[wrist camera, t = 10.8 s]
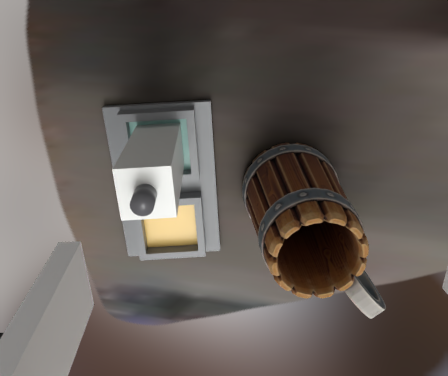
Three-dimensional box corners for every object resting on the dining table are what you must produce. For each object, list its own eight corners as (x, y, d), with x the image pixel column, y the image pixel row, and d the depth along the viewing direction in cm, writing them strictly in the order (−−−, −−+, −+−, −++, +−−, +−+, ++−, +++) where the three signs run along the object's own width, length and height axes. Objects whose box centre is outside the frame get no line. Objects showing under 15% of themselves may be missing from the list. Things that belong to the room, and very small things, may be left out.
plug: (136, 125, 42) (106, 179, 30) (180, 122, 42) (168, 176, 30) (143, 172, 44) (118, 241, 32) (184, 169, 45) (176, 238, 32)
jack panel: (103, 105, 42) (98, 111, 40) (210, 99, 42) (210, 105, 40) (129, 252, 50) (126, 264, 48) (219, 246, 50) (220, 258, 48)
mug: (221, 183, 46) (227, 259, 33) (293, 120, 44) (333, 175, 30) (306, 264, 52) (342, 359, 38) (376, 212, 49) (441, 295, 35)
